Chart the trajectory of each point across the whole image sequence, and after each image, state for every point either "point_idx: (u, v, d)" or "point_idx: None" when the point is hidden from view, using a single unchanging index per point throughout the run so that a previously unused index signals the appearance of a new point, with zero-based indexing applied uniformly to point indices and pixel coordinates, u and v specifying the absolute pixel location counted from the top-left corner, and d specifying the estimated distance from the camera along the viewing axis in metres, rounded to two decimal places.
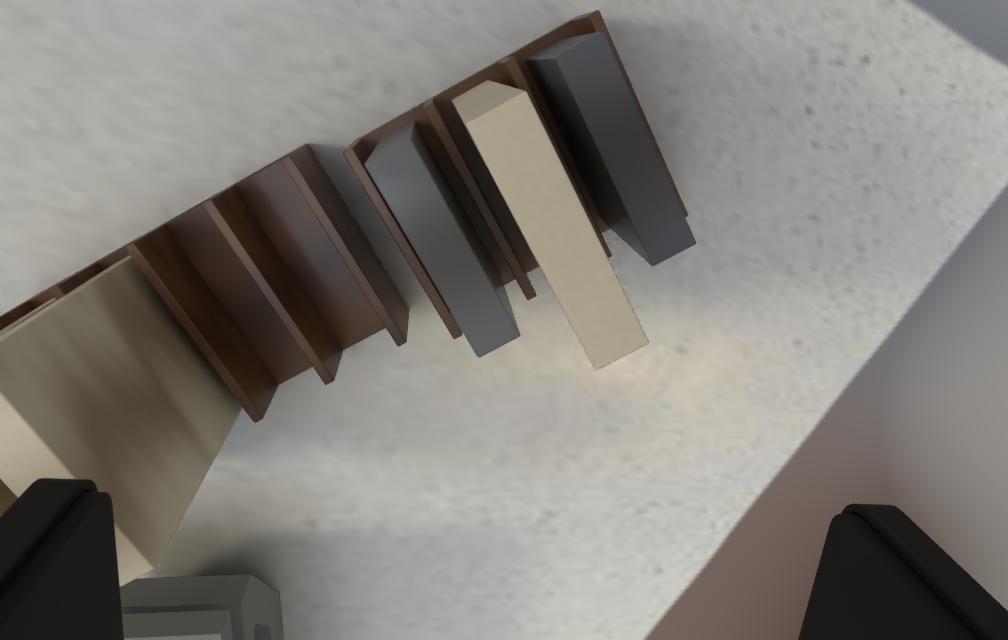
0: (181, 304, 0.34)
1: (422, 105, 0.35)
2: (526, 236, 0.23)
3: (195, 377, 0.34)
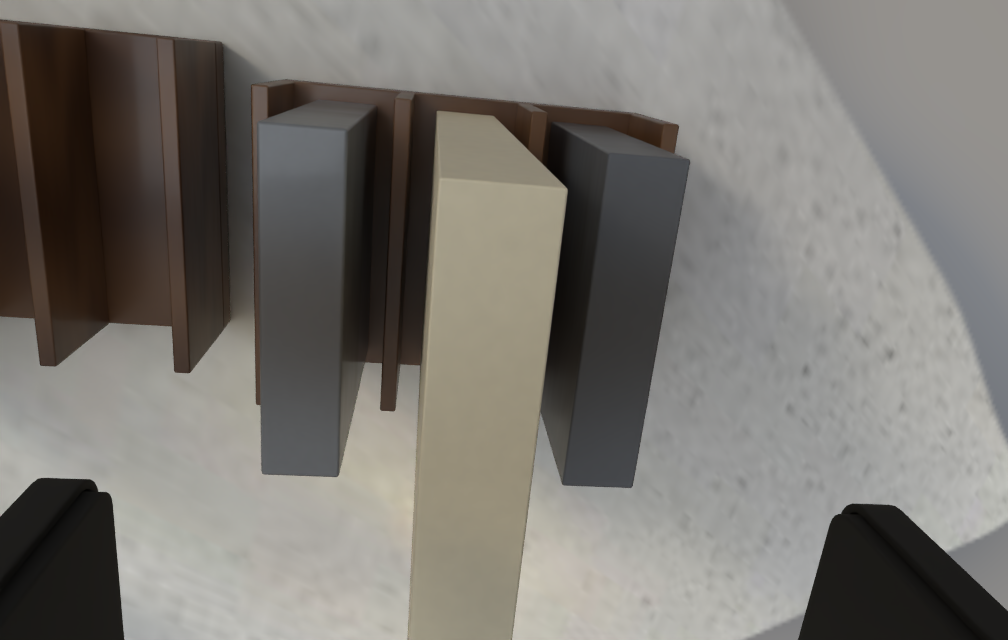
0: None
1: (397, 93, 0.25)
2: (426, 406, 0.12)
3: None
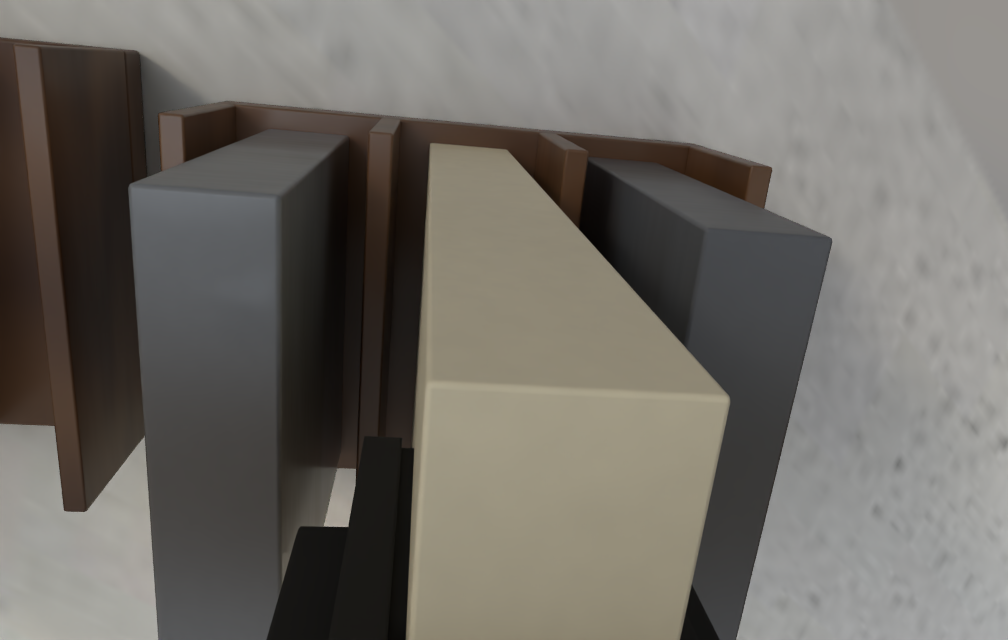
0: None
1: (376, 120, 0.18)
2: None
3: None
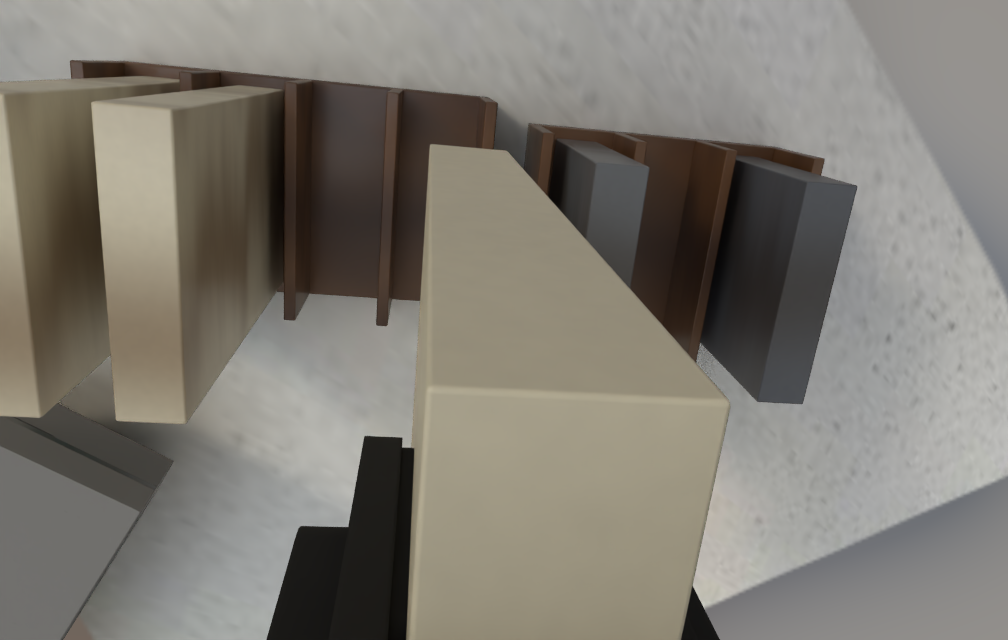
0: (297, 168, 0.30)
1: (612, 133, 0.35)
2: None
3: (263, 243, 0.31)
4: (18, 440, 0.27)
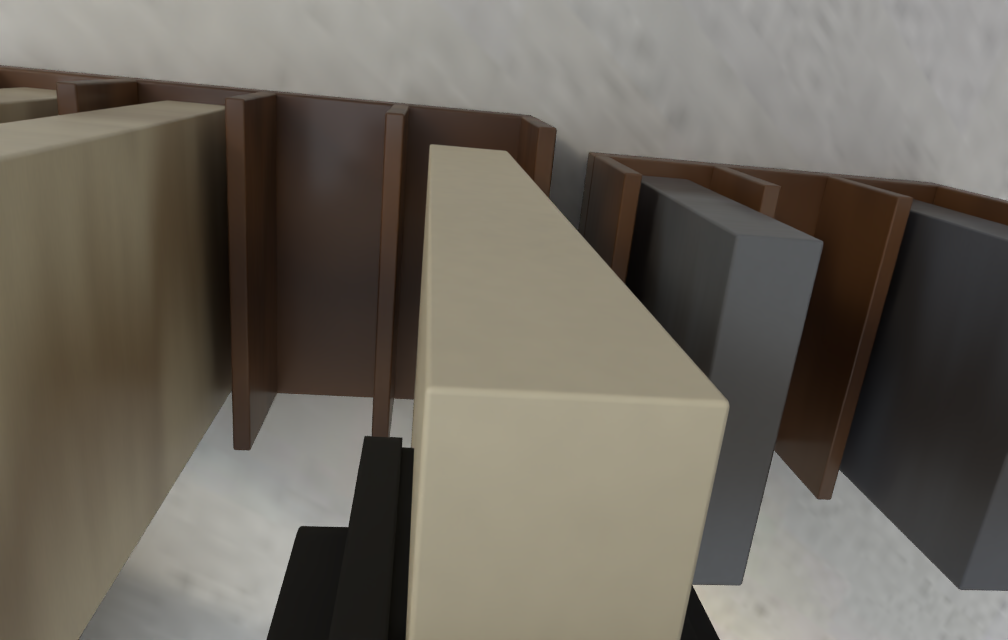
0: (248, 229, 0.20)
1: (710, 167, 0.24)
2: None
3: (197, 344, 0.20)
4: None
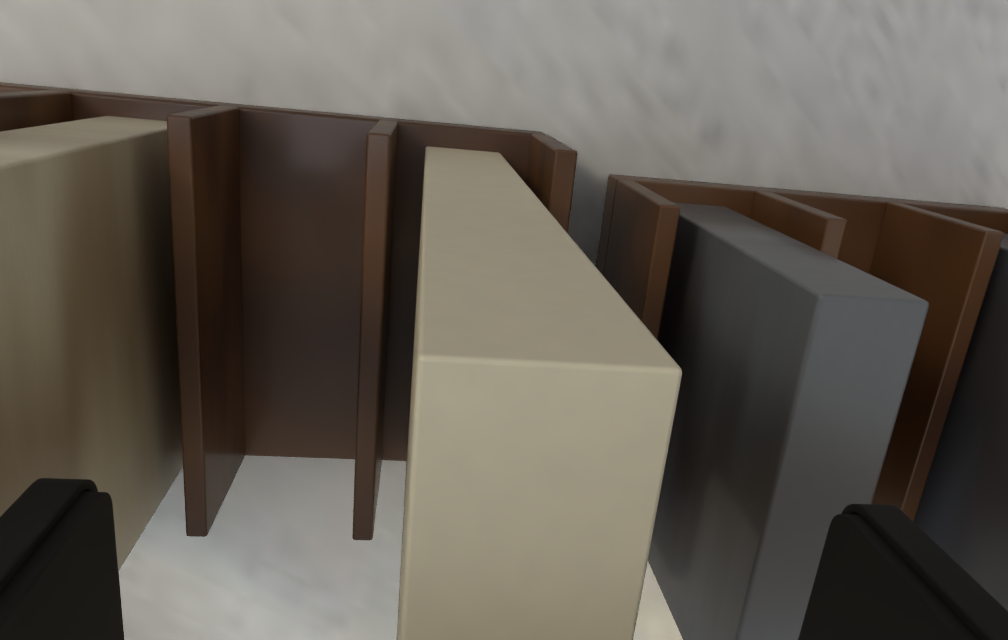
0: (199, 275, 0.16)
1: (751, 192, 0.21)
2: None
3: (138, 414, 0.16)
4: None
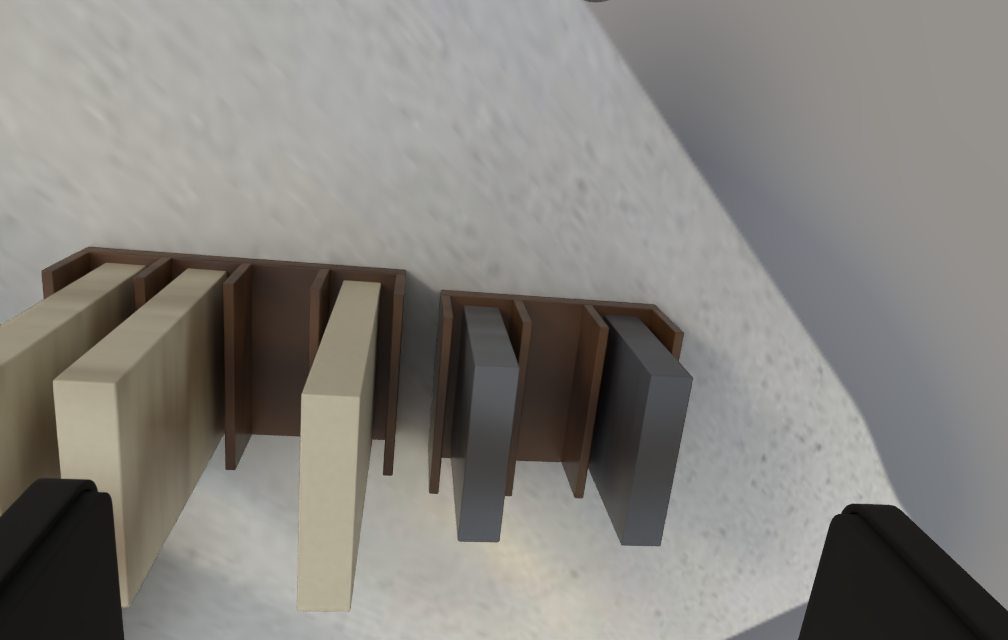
0: (235, 349, 0.36)
1: (511, 300, 0.41)
2: (300, 492, 0.26)
3: (206, 411, 0.36)
4: None
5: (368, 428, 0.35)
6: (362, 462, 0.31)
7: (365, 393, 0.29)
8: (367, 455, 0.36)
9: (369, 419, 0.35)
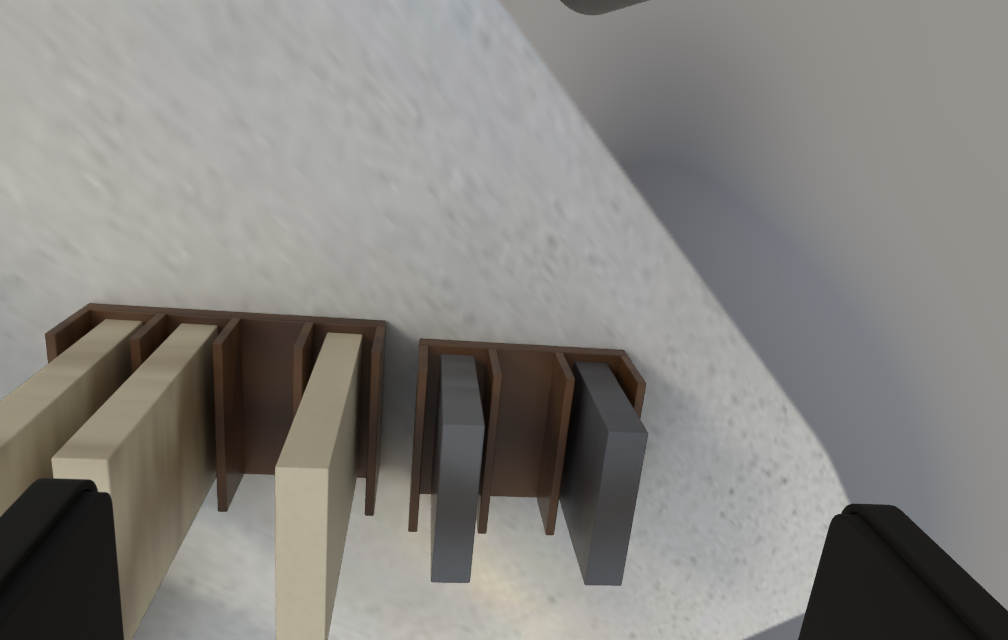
0: (224, 401, 0.39)
1: (486, 349, 0.43)
2: (276, 552, 0.29)
3: (199, 459, 0.39)
4: None
5: (347, 477, 0.37)
6: (338, 516, 0.33)
7: (338, 456, 0.32)
8: (347, 501, 0.38)
9: (349, 468, 0.38)
